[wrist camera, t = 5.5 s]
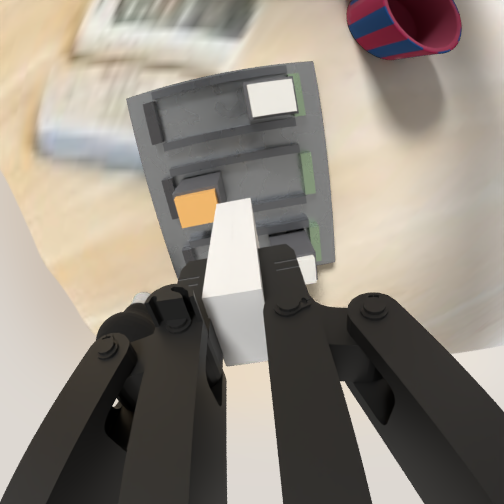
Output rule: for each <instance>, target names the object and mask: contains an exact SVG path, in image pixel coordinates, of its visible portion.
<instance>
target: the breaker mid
mask: <svg viewBox="0 0 504 504" xmlns="http://www.w3.org/2000/svg"><path fill="white" fill-rule="evenodd" d="M172 196H173V200H174V203H175V207H176V211H177V214H178V218H179V221H180V225H181V228H187V227H192V226H197V225H202V224H207V223H212V222H214V216H215V210H216V204H220V203H225V202H227V200H226V195H225V190H224V186H223V181H222V176H221V172H215V173H210V174H205V175H201V176H196V177H192V178H187V179H183V180H181V182H180V183H179V185H178V186H177V188H176V189H175V191H174V192H173V194H172Z"/></svg>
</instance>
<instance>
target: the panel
mask: <svg viewBox="0 0 504 504" xmlns="http://www.w3.org/2000/svg"><path fill="white" fill-rule="evenodd" d="M288 76H293V81H294V86H295V92H296V98H297V104H298V110H299V113H298V114H290V115H282V116H275V117H269V118H262V119H256V120H249V119H248V118H247V113H246V107H245V102H244V97H243V92H242V83H245V82H251V81H257V80H264V79H271V78H279V77H288ZM126 100H127V105H128V109H129V113H130V118H131V122H132V126H133V130H134V135H135V139H136V143H137V147H138V151H139V154H140V158H141V162H142V166H143V169H144V173H145V177H146V180H147V184H148V187H149V191H150V194H151V198H152V201H153V204H154V208H155V211H156V214H157V218H158V221H159V224H160V227H161V230H162V234H163V237H164V240H165V243H166V246H167V249H168V252H169V255H170V258H171V261H172V264H173V267H174V270H175V273H176V275H177V278H178V281H179V276H180V272H181V270H182V269H183V267H184V266H185V265H186V264H187V263H188V262H189V261H194V260H200V259H206V258H208V253H209V247H210V240H211V234H212V228H213V222H212V223H207V224H202V225H197V226H192V227H187V228H181V225H180V221H179V218H178V214H177V211H176V207H175V203H174V200H173V196H172V194H173V192H174V191H175V189H176V188H177V186H178V185H179V183H180V182H181V180H183V179H187V178H192V177H196V176H201V175H205V174H210V173H215V172H221V176H222V181H223V186H224V190H225V195H226V200H227V202H230V201H235V200H241V199H246V198H251V204H252V209H253V214H254V220H255V225H256V230H257V236H258V241H259V247H260V248H263V247H269V246H270V242H269V236H274V235H280V234H285V233H291V232H297V231H302V230H305V232H306V234H307V236H308V238H309V240H310V242H311V244H312V246H313V248H314V250H315V252H316V264H317V265H322V264H327V263H332V262H335V248H334V230H333V215H332V202H331V190H330V179H329V169H328V160H327V151H326V142H325V134H324V127H323V119H322V112H321V105H320V99H319V92H318V86H317V80H316V74H315V68H314V63H313V61H308V62H296V63H286V64H277V65H269V66H261V67H255V68H248V69H242V70H236V71H231V72H225V73H220V74H215V75H211V76H206V77H201V78H197V79H193V80H189V81H185V82H181V83H177V84H173V85H170V86H166V87H162V88H159V89H156V90H152V91H149V92H146V93H143V94H139V95H136V96H133V97H130V98H127V99H126Z"/></svg>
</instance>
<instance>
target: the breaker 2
mask: <svg viewBox="0 0 504 504" xmlns="http://www.w3.org/2000/svg"><path fill="white" fill-rule="evenodd" d="M269 242H270V246H274V245H280V244H287V245H288V246H290V247H291V248H292V249H294V251H295V254H296V257H297V260H298V263H299V267H300V269H301V272H302V275H303V278H304V281H305V285H306V284H311V283H317V280H318V278H317V264H316V252H315V250H314V248H313V246H312V244H311V242H310V240H309V238H308V236H307V234H306V232H305V230H302V231H297V232H291V233H285V234H280V235H274V236H269Z"/></svg>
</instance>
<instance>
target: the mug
mask: <svg viewBox="0 0 504 504" xmlns="http://www.w3.org/2000/svg"><path fill="white" fill-rule="evenodd" d="M347 22H348V26H349V29H350V32H351V33H352V35H353V37H354V38H355V40H356V41H357V42H358V43H359V44H360V45H361V46H362V47H363V48H364V49H365V50H366V51H368V52H369V53H371V54H372V55H374V56H376V57H379V58H382V59H386V60H397V59H403V58H410V57H417V56H425V55H433V54H443V53H446V52H449V51H451V50H452V49H454V48H455V47H456V45H457V44H458V42H459V40H460V37H461V31H462V26H461V19H460V14H459V12H458V9H457V7H456V5H455V3H454V1H453V0H352V1H351V2H350V4H349V6H348V9H347Z"/></svg>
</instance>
